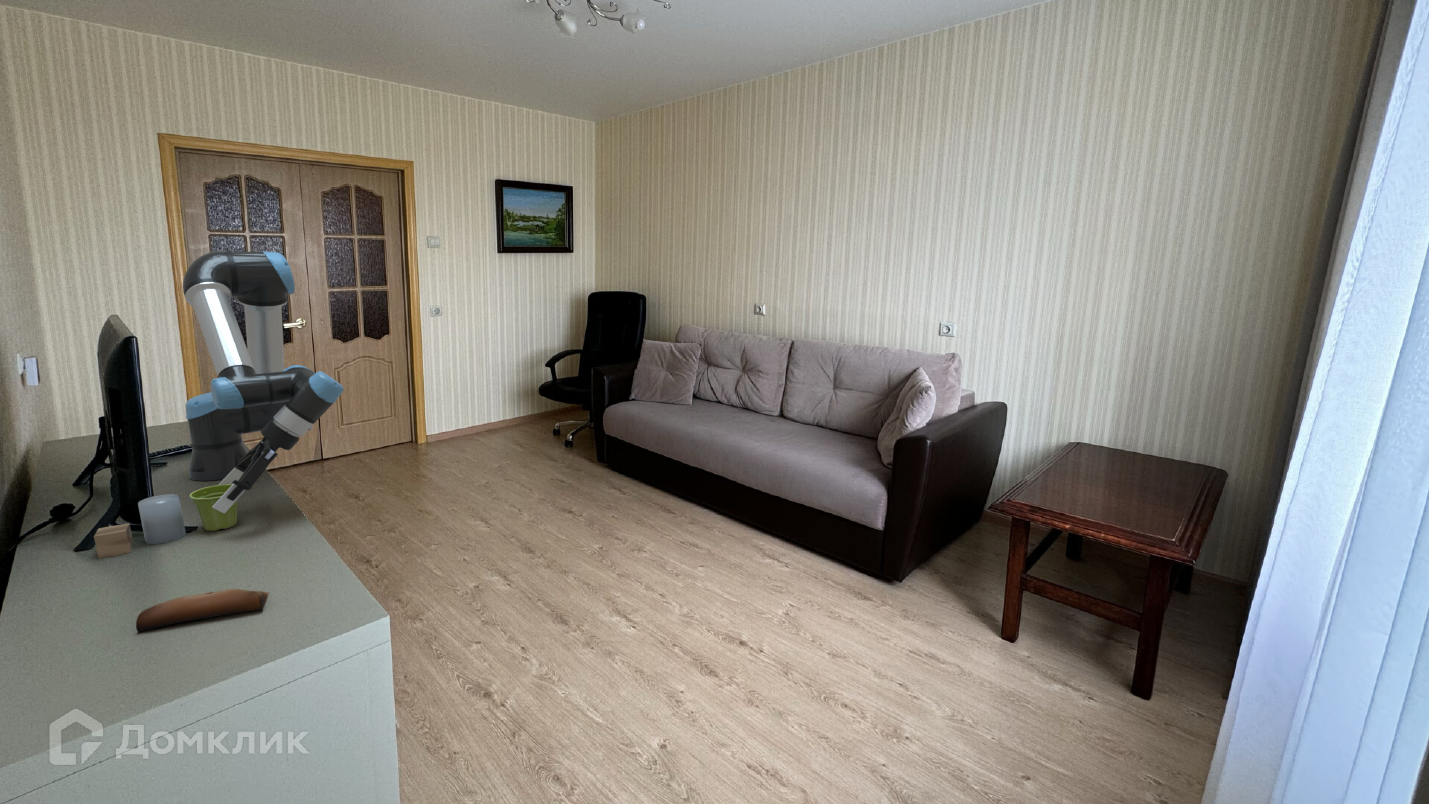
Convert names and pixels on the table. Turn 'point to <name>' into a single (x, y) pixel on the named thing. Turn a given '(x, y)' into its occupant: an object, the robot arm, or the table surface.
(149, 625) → the sunglasses case
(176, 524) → the slate jar
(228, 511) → the plant pot
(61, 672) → the table surface
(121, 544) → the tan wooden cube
